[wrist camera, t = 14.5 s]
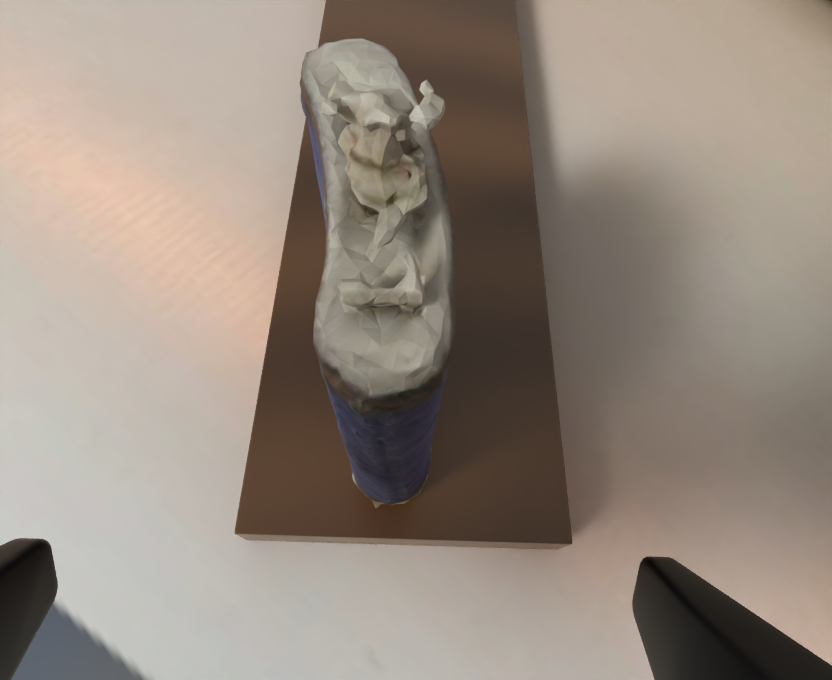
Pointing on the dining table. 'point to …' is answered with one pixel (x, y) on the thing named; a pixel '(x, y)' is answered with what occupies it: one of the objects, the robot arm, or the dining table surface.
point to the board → (475, 316)
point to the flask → (381, 261)
